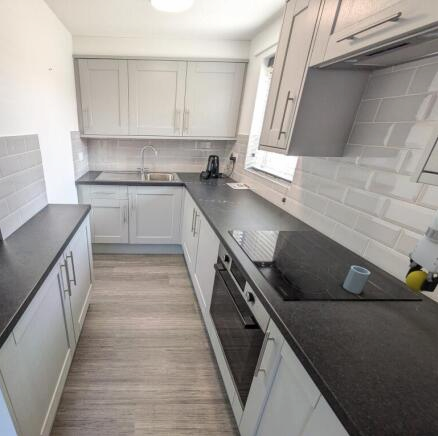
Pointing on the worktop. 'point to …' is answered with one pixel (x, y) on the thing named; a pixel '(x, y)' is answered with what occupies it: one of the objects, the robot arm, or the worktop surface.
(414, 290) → the lemon
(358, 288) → the cup
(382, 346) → the worktop surface
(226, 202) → the worktop surface
